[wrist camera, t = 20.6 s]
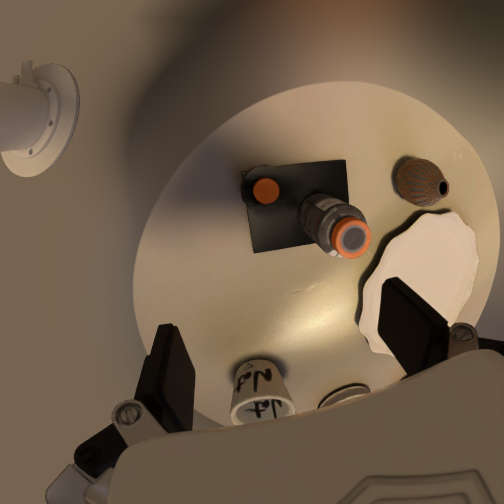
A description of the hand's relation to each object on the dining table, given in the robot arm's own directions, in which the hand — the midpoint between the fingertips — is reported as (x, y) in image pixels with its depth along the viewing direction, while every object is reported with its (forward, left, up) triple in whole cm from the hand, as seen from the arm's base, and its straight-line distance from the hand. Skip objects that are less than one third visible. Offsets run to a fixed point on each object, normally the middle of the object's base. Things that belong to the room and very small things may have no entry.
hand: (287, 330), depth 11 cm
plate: (+19, +30, -26) cm, 44 cm away
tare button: (-2, +2, -24) cm, 24 cm away
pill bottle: (+2, +9, -25) cm, 27 cm away
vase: (-1, +25, -26) cm, 36 cm away
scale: (+1, +7, -26) cm, 27 cm away
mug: (+32, -2, -26) cm, 41 cm away
